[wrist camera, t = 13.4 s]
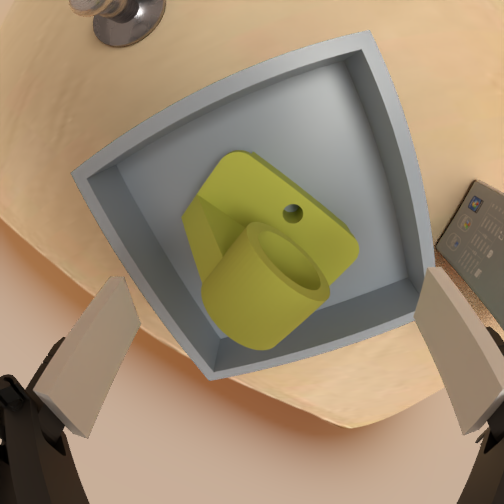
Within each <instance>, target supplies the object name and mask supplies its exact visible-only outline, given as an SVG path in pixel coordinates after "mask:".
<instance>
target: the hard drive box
mask: <svg viewBox="0 0 504 504" xmlns="http://www.w3.org/2000/svg"><path fill="white" fill-rule="evenodd" d="M436 249H437V250H438V251H439V252H440V253H441V254H442V256H443V257H444V258H445V259H446V260H447V261H448V262H449V263H450V265H451V266H452V267H453V268H454V269H455V270H456V271H457V273H458V274H459V275H460V276H461V277H462V278H463V279H464V281H465V282H466V283H467V284H468V286H469V287H470V288H471V289H472V290H473V292H474V293H475V294H476V295H477V296H478V298H479V299H480V300H481V301H482V303H483V304H484V305H485V306H486V308H487V309H488V310H489V311H490V313H491V314H492V315H493V317H494V318H495V319H496V321H497V322H498V323H499V325H500V326H501V328H502V329H503V330H504V193H502V192H501V191H499V190H497V189H495V188H494V187H492V186H490V185H488V184H486V183H484V182H482V181H480V180H477V182H476V181H475V182H474V184H473V186H472V187H471V189H470V191H469V193H468V195H467V196H466V198H465V200H464V202H463V203H462V205H461V207H460V209H459V210H458V212H457V214H456V215H455V217H454V219H453V220H452V222H451V224H450V225H449V227H448V228H447V230H446V231H445V233H444V235H443V236H442V238H441V239H440V241H439V242H438V244H437V246H436Z"/></svg>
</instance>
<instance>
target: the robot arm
mask: <svg viewBox="0 0 504 504" xmlns="http://www.w3.org/2000/svg"><path fill="white" fill-rule="evenodd" d="M413 318H414V320H415V322H416V324H417V326H418V328H419V330H420V332H421V334H422V336H423V338H424V340H425V342H426V344H427V346H428V349H429V351H430V353H431V355H432V357H433V360H434V362H435V364H436V366H437V369H438V371H439V373H440V376H441V378H442V380H443V383H444V385H445V388H446V390H447V393H448V395H449V398H450V400H451V403H452V406H453V408H454V411H455V414H456V416H457V419H458V422H459V425H460V428H461V431H462V434H463V435H466V434H469V433H471V432H474V431H476V430H479V429H480V428H481V427H482V426H483V425H484V424H485V422H486V421H487V422H488V424H489V428H487V429H486V430H485V431H484V432H483V433H482V434H481V435H480V436H479V437H478V438H477V440H476V442H475V443H478V442H479V441H480V440H481V439H482V438H483V437H484V438H483V441H482V443H481V447H480V450H479V453H478V456H477V458H476V461H475V464H474V466H473V469H472V471H471V474H470V476H469V478H468V481H467V483H466V485H465V487H464V489H463V492H462V494H461V496H460V498H459V500H458V502H457V504H504V342H503V340H502V338H501V337H500V335H499V334H498V333H497V332H496V331H494V330H493V329H492V328H491V327H485V326H484V324H483V323H482V321H481V320H480V318H479V317H478V316H477V314H476V313H475V311H474V310H473V308H472V307H471V306H470V304H469V303H468V301H467V300H466V299H465V297H464V296H463V294H462V293H461V292H460V290H459V289H458V288H457V286H456V285H455V284H454V282H453V281H452V280H451V279H450V277H449V276H448V275H447V273H446V272H445V271H444V270H443V268H442V267H428V268H427V270H426V274H425V278H424V282H423V286H422V289H421V293H420V296H419V300H418V303H417V306H416V310H415V313H414V316H413ZM140 325H141V322H140V320H139V317H138V314H137V312H136V309H135V306H134V304H133V301H132V298H131V295H130V292H129V290H128V287H127V284H126V281H125V278H124V277H110V278H109V279H108V280H107V282H106V283H105V284H104V286H103V287H102V288H101V289H100V291H99V292H98V293H97V295H96V296H95V297H94V299H93V300H92V301H91V303H90V304H89V306H88V307H87V308H86V310H85V311H84V312H83V314H82V315H81V317H80V318H79V319H78V321H77V322H76V324H75V325H74V327H73V328H72V329H71V331H70V332H69V334H68V335H67V337H63V338H62V339H60V340H59V341H58V342H57V343H56V344H54V346H53V347H52V349H51V350H50V352H49V353H48V356H46V358H45V359H44V361H43V364H41V365H40V367H39V368H38V370H37V372H36V373H35V375H34V377H33V378H32V380H31V381H30V383H29V385H28V387H27V388H26V389H24V388H23V387H22V386H21V385H20V383H19V382H18V381H17V379H16V378H15V377H14V376H13V375H9V374H8V375H3V376H1V377H0V438H1V439H2V443H1V445H0V504H89V502H88V499H87V496H86V494H85V492H84V489H83V487H82V484H81V481H80V479H79V476H78V473H77V470H76V467H75V464H74V461H73V458H72V455H71V451H70V448H69V444H68V441H67V437H66V435H65V433H64V432H63V429H64V426H66V427H67V428H68V429H69V430H70V431H71V432H72V433H73V434H76V435H79V436H82V437H84V438H87V439H88V438H89V435H90V433H91V431H92V428H93V426H94V423H95V421H96V419H97V416H98V414H99V412H100V409H101V407H102V405H103V403H104V400H105V398H106V396H107V394H108V391H109V389H110V387H111V385H112V383H113V380H114V378H115V376H116V374H117V372H118V370H119V368H120V365H121V363H122V361H123V359H124V357H125V355H126V353H127V351H128V349H129V347H130V345H131V343H132V341H133V339H134V337H135V335H136V333H137V331H138V329H139V327H140Z"/></svg>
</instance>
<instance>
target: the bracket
mask: <svg viewBox="0 0 504 504" xmlns="http://www.w3.org/2000/svg"><path fill="white" fill-rule="evenodd" d="M290 204H296V205H298V206H299V208H298V209H297V210H296V211H294V212H287V211H285V210H284V208H285V207H286V206H288V205H290ZM181 218H182V222H183V225H184V228H185V232H186V235H187V238H188V241H189V245H190V248H191V251H192V254H193V257H194V260H195V263H196V266H197V269H198V272H199V276H200V279H201V282H202V286H201V297H202V301H203V304H204V307H205V309H206V311H207V313H208V314H209V316H210V318H211V319H212V320H213V322H214V323H215V324H216V325H217V326H218V328H219V329H220V330H221V331H222V332H223V333H225V334H226V335H227V336H228V337H229V338H231V339H232V340H234V341H235V342H237V343H239V344H241V345H243V346H245V347H247V348H251V349H254V350H268V349H271V348H273V347H275V346H276V345H277V344H278V343H279V342H280V341H282V340H283V339H284V338H285V337H286V336H287V335H289V334H290V333H291V332H292V331H293V330H294V329H295V328H297V327H298V326H299V325H300V324H301V323H302V322H303V321H304V320H306V319H307V318H308V317H309V316H310V315H311V314H312V313H313V312H314V311H316V310H317V309H318V308H319V307H320V306H321V305H322V304H323V303H324V302H325V301H326V300H327V299H328V298H329V296H330V288H329V286H330V285H331V284H332V283H333V282H334V281H335V280H336V279H337V278H338V277H339V276H340V275H341V274H342V273H343V272H344V271H345V270H346V269H347V268H348V267H349V266H350V265H351V264H352V263H353V262H354V261H355V260H356V259H357V257H358V254H359V244H358V242H357V240H356V239H355V237H354V235H353V234H352V233H351V232H350V230H349V228H348V227H347V225H346V224H345V223H344V222H342V221H341V220H340V219H339V218H338V217H336V216H335V215H334V214H333V213H332V212H331V211H329V210H328V209H327V208H326V207H324V206H323V205H322V204H321V203H320V202H318V201H317V200H316V199H315V198H313V197H312V196H311V195H310V194H308V193H307V192H306V191H305V190H303V189H302V188H301V187H300V186H298V185H297V184H296V183H294V182H293V181H292V180H291V179H289V178H288V177H287V176H285V175H284V174H283V173H282V172H280V171H279V170H278V169H276V168H275V167H274V166H272V165H271V164H270V163H268V162H267V161H266V160H264V159H263V158H261V157H260V156H259V155H257V154H256V153H255V152H252V153H249V152H247V151H244V150H235V151H232V152H229V153H228V154H226V155H225V156H224V157H223V158H222V159H221V160H220V162H219V163H218V164H217V166H216V167H215V169H214V170H213V171H212V173H211V174H210V176H209V177H208V179H207V180H206V181H205V183H204V184H203V186H202V187H201V189H200V190H199V192H198V193H197V194H196V196H195V197H194V199H193V200H192V202H191V203H190V205H189V206H188V208H187V209H186V211H185V212H184V214H183V215H182V217H181Z"/></svg>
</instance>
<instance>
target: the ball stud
mask: <svg viewBox="0 0 504 504" xmlns="http://www.w3.org/2000/svg"><path fill="white" fill-rule="evenodd" d="M69 5H70V8H71V10H72V11H73V12H74V13H75V14H77V15H79V16H83V17H91V16H94V20H93V28H94V32H95V35H96V36H97V38H98V39H99V40H100V41H101V42H103V43H105V44H108V45H111V46H116V47H122V46H128V45H131V44H134V43H136V42H138V41H140V40H142V39H143V38H145V37H146V36H148V35H149V34H150V33H151V32H152V31H153V30H154V29H155V28H156V26H157V25H158V24H159V22H160V21H161V19H162V17H163V14H164V11H165V5H166V3H165V0H69Z"/></svg>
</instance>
